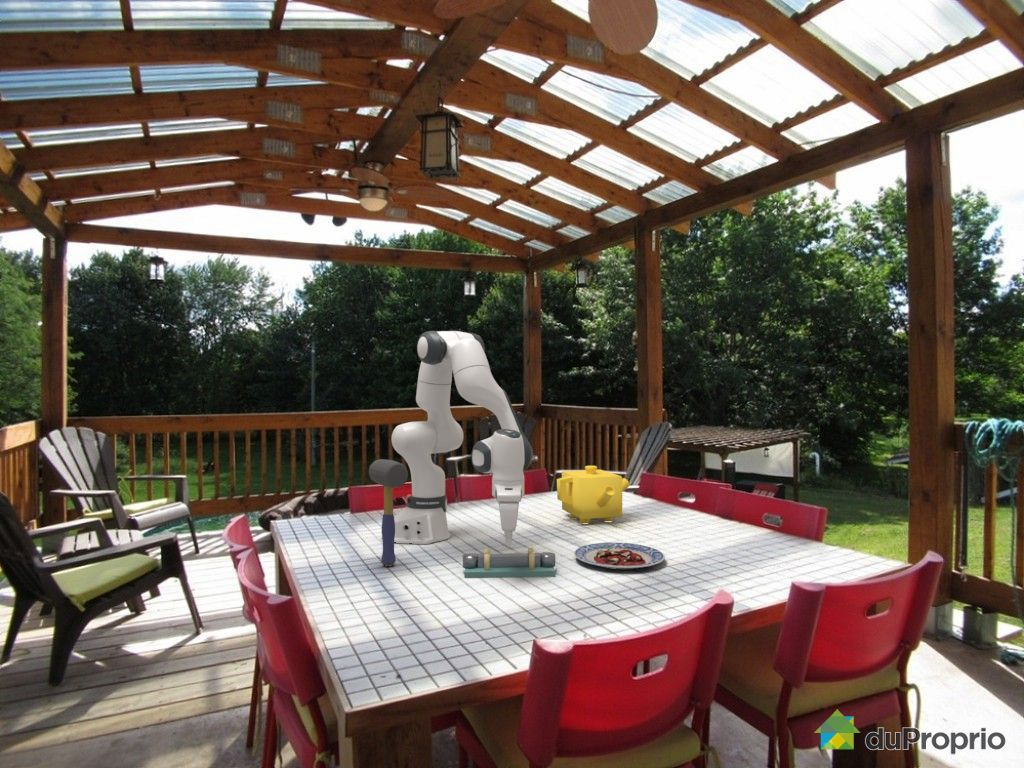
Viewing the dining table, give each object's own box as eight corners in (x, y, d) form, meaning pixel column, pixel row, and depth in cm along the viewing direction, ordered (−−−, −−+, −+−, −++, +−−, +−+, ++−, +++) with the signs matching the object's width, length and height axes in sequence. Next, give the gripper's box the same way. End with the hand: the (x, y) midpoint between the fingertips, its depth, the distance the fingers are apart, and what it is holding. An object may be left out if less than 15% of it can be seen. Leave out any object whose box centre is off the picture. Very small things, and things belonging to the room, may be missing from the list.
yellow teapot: (652, 526, 221) (652, 470, 221) (576, 532, 212) (576, 474, 212) (609, 507, 254) (609, 459, 254) (542, 512, 246) (542, 461, 246)
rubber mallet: (410, 568, 171) (410, 460, 171) (386, 573, 167) (385, 463, 167) (390, 558, 181) (390, 456, 181) (367, 563, 177) (366, 458, 177)
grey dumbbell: (462, 569, 166) (462, 557, 166) (462, 564, 170) (462, 553, 170) (556, 567, 166) (556, 556, 166) (554, 562, 171) (554, 552, 171)
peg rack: (464, 577, 163) (464, 557, 163) (466, 566, 173) (466, 547, 173) (554, 576, 164) (554, 555, 164) (551, 565, 174) (551, 546, 174)
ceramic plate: (680, 572, 168) (680, 561, 168) (589, 577, 163) (589, 566, 163) (644, 547, 193) (644, 537, 193) (564, 551, 189) (564, 542, 189)
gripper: (496, 482, 179) (496, 530, 179) (496, 496, 158) (496, 550, 158) (518, 482, 179) (517, 529, 179) (521, 496, 158) (520, 550, 159)
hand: (507, 539), depth 169 cm, fingers open, 8 cm apart
